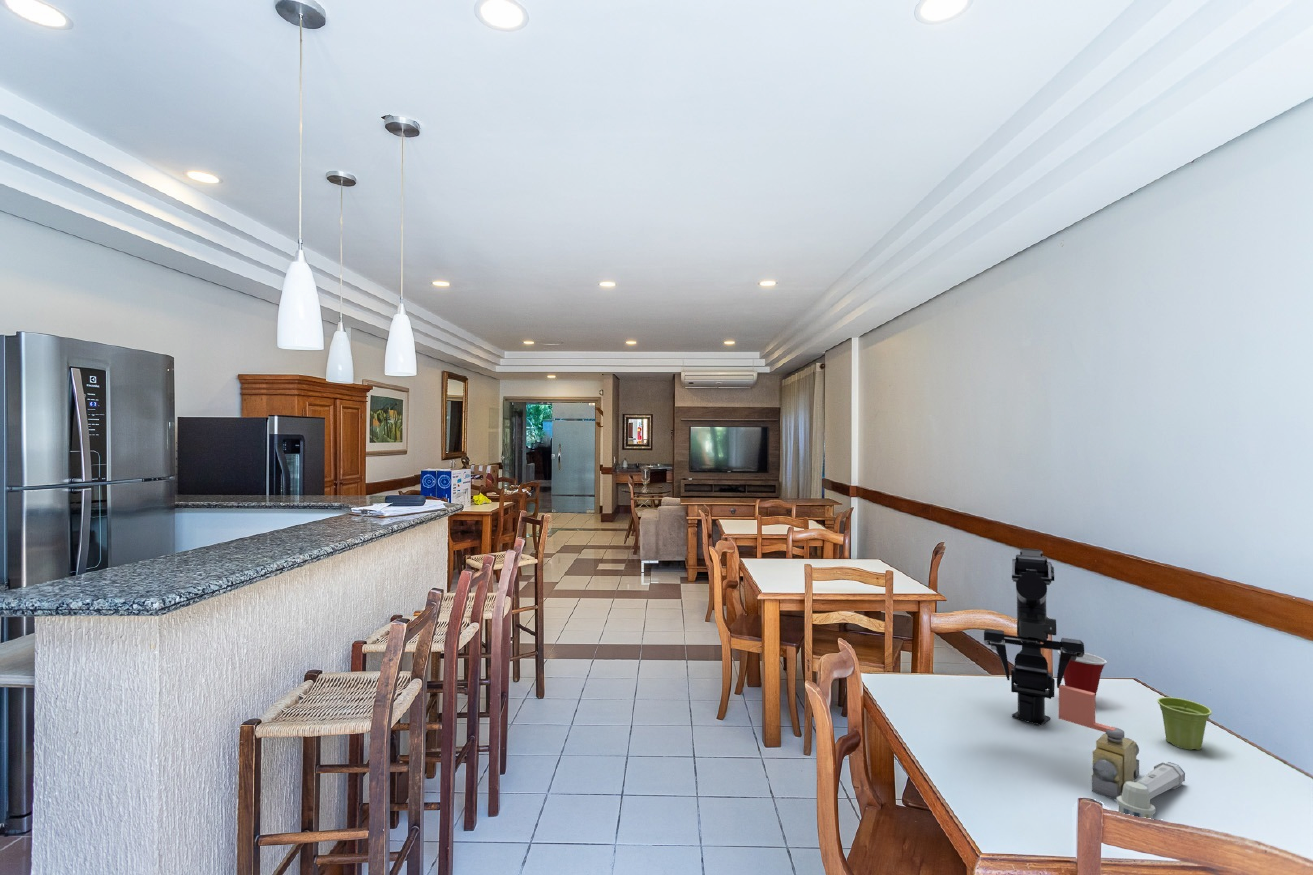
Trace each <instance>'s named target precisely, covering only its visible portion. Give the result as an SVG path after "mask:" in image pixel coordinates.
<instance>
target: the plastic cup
mask: <svg viewBox="0 0 1313 875" xmlns="http://www.w3.org/2000/svg"><path fill="white" fill-rule="evenodd" d="M1060 653H1061V652H1060V650H1057V654H1058V656H1060ZM1106 664H1107V660H1106V659H1104V658H1103V657H1100V656H1098V655H1094V654H1092V653H1088V652H1084V655H1083V657H1077V658H1076V660H1075V661H1073V660H1070V661H1069V663H1068V665H1067V667H1066V669H1065V672H1064V675H1063V681H1064V685H1065V686H1069V687H1073V688H1077V689H1081V690H1084V691H1088V692H1092V693H1095V699H1096V696H1097V692H1098V689H1099V686H1100V685H1099V684H1100V678H1101V675H1102V672H1103V669H1104V667H1105V665H1106Z"/></svg>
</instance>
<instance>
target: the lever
mask: <svg viewBox="0 0 1313 875" xmlns="http://www.w3.org/2000/svg"><path fill="white" fill-rule="evenodd" d="M1058 719H1059V720H1062V721H1065V722H1070V723H1072V724H1075V725H1076V724H1077V725H1079V726H1083V727H1086V728H1090V729H1092V730H1097V731H1100V732H1104V733H1106V735H1108V736H1110V737H1113V738H1119V739H1122V738H1125V731H1124V730H1123V729H1121V728H1118V727H1115V726H1109V725H1106V724H1102V723H1098V722H1096V698H1095V693H1092V692H1088V691H1084V690H1081V689H1077V688H1073V687H1069V686H1065V684H1060V686H1059V688H1058Z"/></svg>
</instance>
